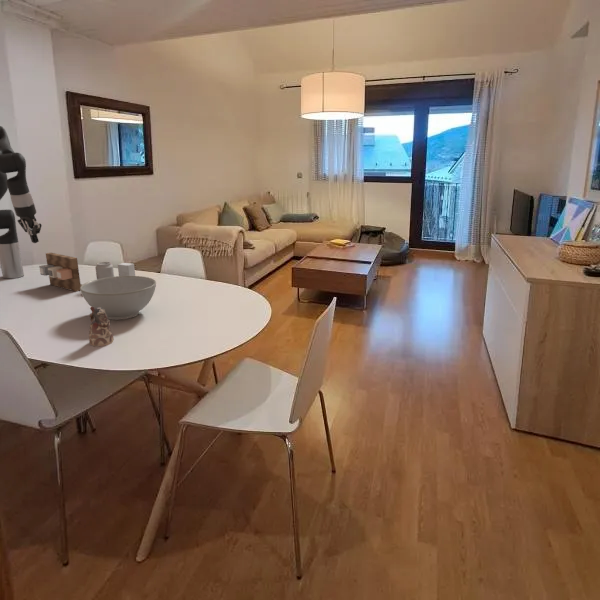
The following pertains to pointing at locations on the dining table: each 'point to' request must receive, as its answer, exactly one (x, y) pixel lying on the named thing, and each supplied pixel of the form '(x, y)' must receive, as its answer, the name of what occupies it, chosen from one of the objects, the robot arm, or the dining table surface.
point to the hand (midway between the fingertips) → (35, 242)
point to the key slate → (45, 269)
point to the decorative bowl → (119, 295)
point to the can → (104, 270)
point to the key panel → (65, 263)
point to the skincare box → (126, 269)
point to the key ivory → (54, 271)
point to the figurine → (99, 328)
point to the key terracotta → (64, 274)
